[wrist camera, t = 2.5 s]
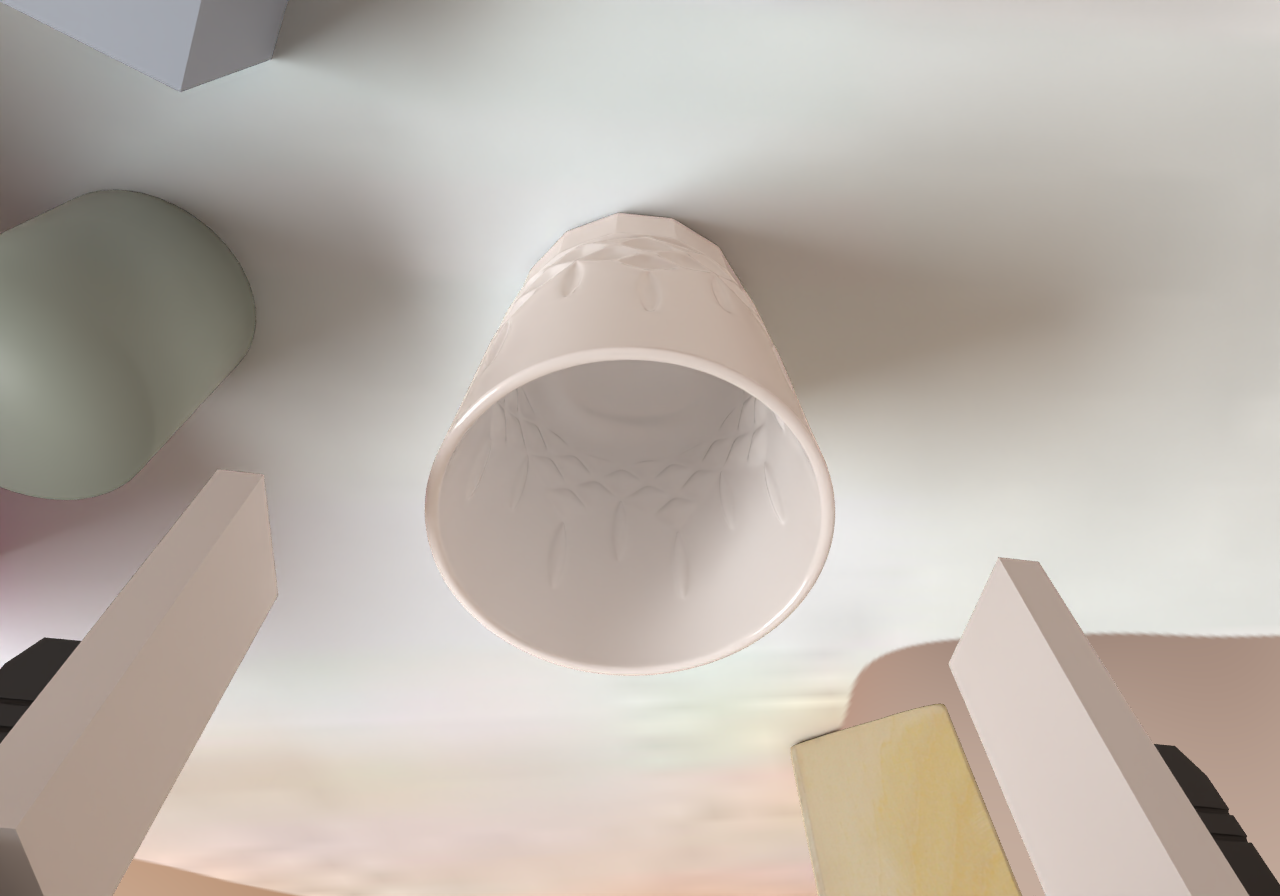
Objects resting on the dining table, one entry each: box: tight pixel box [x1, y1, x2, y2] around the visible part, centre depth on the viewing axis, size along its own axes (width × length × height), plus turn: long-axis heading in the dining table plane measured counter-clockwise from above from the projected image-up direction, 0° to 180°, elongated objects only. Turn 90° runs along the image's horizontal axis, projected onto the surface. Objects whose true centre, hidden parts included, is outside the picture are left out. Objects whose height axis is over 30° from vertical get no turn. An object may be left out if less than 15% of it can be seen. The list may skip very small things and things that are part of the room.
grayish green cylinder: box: [0, 190, 256, 500], centre depth 21 cm, size 6×6×6 cm
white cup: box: [425, 213, 835, 676], centre depth 20 cm, size 8×8×10 cm
